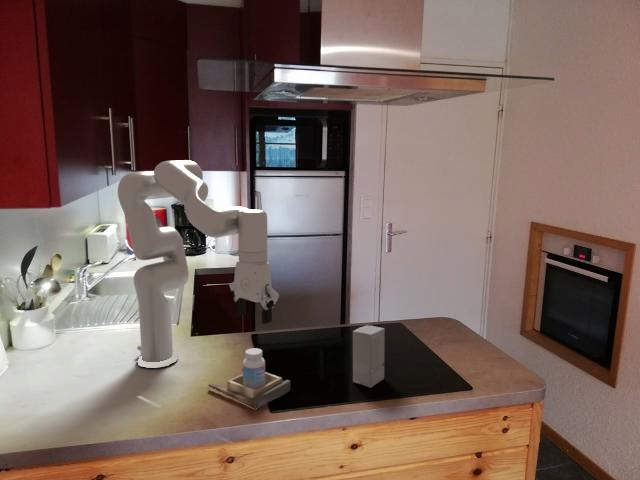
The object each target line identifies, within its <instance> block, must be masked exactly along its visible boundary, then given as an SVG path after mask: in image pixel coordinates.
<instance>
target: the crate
mask: <svg viewBox="0 0 640 480" xmlns="http://www.w3.org/2000/svg"><path fill="white" fill-rule="evenodd" d="M282 381H283V377H281V376H277V375H275V374H272V373H270V372H267V371H265V385H264V386H262V387H261V388H259V389H257V390H253V389H251V388H248V387H246V386H243V374H242V373H241V374H239V375H237V376H235V377H233V378H231V379H229V380H227V385H226V386H227V387H226V388H227V389H229V390H231V391H233V392H236V393H238V394H241V395H243V396H245V397H248V398H250V399H252V398H254V397H256V396H258V395H259V394H261V393H263V392H265V391H267V390H269V389H271V388H272V387H274V386H276V385H278V384H280V383H282Z"/></svg>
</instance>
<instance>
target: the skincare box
mask: <svg viewBox="0 0 640 480" xmlns="http://www.w3.org/2000/svg"><path fill="white" fill-rule="evenodd" d="M385 332H386V331H385V327H378V326H374V325H370V324H366V325H364V326H360V327H358V328H356V329H354V330H352V382H353V383H355V384H358V385H361V386H364V387H367V388H369V389H371V388H372V387H374V386H376V385H377V384H379V383H380V382H382V381H383V380H384V379H385V335H386V334H385Z"/></svg>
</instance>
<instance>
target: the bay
mask: <svg viewBox="0 0 640 480" xmlns="http://www.w3.org/2000/svg"><path fill="white" fill-rule="evenodd" d="M242 371H243V367H242V368H241V372H242ZM207 385H208V386H209V387H211V388H213V389H216V390H217V391H219V392H222V393H223V394H225V395H227V396H230V397H232V398H234V399H236V400H238V401H240V402H242V403H244V404H246V405H248V406H250V407H252V408H254V409H256V408H258V407H261V406H263V405H264V404H266V403H268V402H270V401H271V402H273V401H275V400H277V399H279V398H280V397H282V396H284V395H285V394H288V393H289V392H291V380H289V379H286V380H282V383H280V384H278V385H276V386H274V387H272V388H271V389H269V390H267V391H265V392H263V393H261V394H259V395H258V396H256V397H254V398H252V399H250V398H248V397H245V396H243V395H241V394H238V393H236V392H233V391H231V390H229V389H228V388H227V387H223V386H221V385H219V384H217V383H214V382H210V383H208V384H207ZM276 398H277V399H276ZM274 399H275V400H274ZM272 400H273V401H272ZM271 402H270V403H271ZM268 404H269V403H268ZM266 405H267V404H266ZM264 406H265V405H264ZM264 406H263V407H264ZM261 408H262V407H261Z"/></svg>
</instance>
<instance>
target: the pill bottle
mask: <svg viewBox="0 0 640 480" xmlns="http://www.w3.org/2000/svg"><path fill="white" fill-rule="evenodd" d="M244 357H245V358H244V359H243V361H242V368H243V386H246V387H248V388H251V389H253V390H257V389H259V388H261V387H262V386H264V385H265V372H266V360H265V358H264V357H263V350H262V349H261V348H257V347H256V348H255V347H253V348H252V347H251V348H248V349H246V350H245V355H244Z"/></svg>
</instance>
